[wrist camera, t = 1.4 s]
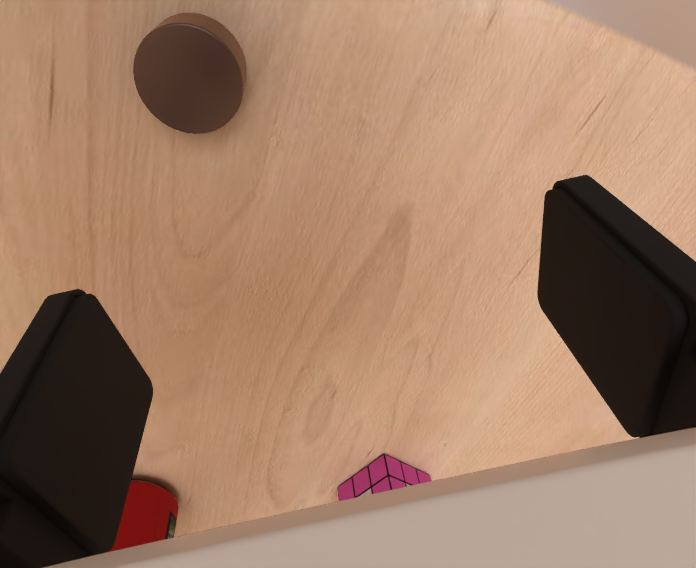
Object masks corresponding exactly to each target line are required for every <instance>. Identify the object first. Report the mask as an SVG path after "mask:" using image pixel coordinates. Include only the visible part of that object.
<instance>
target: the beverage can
mask: <svg viewBox="0 0 696 568" xmlns="http://www.w3.org/2000/svg"><path fill="white" fill-rule="evenodd" d="M177 513H178V503H177V500H176V499H175V497H174V496H173V495H172V494H171V493H169V492H168V491H166V490H165V489H163V488H162V487H160V486H158V485H157V484H154V483H151V482H148V481H142V480H131V483H130V487H129V490H128V494H127V498H126V502H125V506H124V510H123V514H122V518H121V522H120V526H119V530H118V533H117V537H116V541H115V544H114V546H113V548H112V549H111V550H110V551H109V552H111V551H116V550H120V549H125V548H129V547H134V546H138V545H143V544H147V543H152V542H156V541H161V540H165V539H170V538H174V533H175V527H176V520H177ZM106 553H107V552H106Z"/></svg>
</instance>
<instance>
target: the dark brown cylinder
mask: <svg viewBox="0 0 696 568" xmlns="http://www.w3.org/2000/svg"><path fill="white" fill-rule="evenodd" d="M133 72H134V80H135V84H136V88H137V90H138V93H139V95H140V97H141V99H142V101H143V102H144V104H145V105H146V107H147V108H148V109H149V110H150V112H151V113H152V114H153V115H154V116H155V117H156V118H158V119H159V120H160V121H161V122H163V123H164V124H166V125H168V126H169V127H172V128H174V129H176V130H179V131H182V132H187V133H194V134H199V133H208V132H211V131H215V130H217V129H219V128H221V127H222V126H224V125H225V124H227V123H228V122H229V121H230V120H231V119H232V118H233V116H234V115H235V114H236V112H237V110H238V108H239V106H240V104H241V100H242V96H243V91H244V86H245V80H246V64H245V59H244V55H243V53H242V50H241V48H240V46H239V44H238V42H237V41H236V39H235V38H234V36H233V35H232V34H231V33H230V31H228V30H227V29H226V28H225V27H224V26H223V25H222V24H220V23H219V22H217V21H216V20H214V19H212V18H210V17H207V16H205V15H201V14H196V13H182V14H177V15H174V16H171V17H169V18H168V19H166V20H164V21H163V22H162V23H161V24H159V25H158V26H157V27H156V28H155V29H154V30H152V31H151V32H150V33H149V34H148V35H147V36H146V37H145V38H144V39H143V41H142V42H141V44H140V45H139V47H138V49H137V52H136V55H135V59H134V70H133Z"/></svg>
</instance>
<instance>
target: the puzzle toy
mask: <svg viewBox="0 0 696 568" xmlns="http://www.w3.org/2000/svg"><path fill="white" fill-rule="evenodd" d="M426 482H431V478H430V475H428V474H426V473H423V472H421V471H419V470H417V469H415V468H413V467H410V466H408V465H406V464H404V463H402V462H400V461H398V460H395V459H393V458H391V457H389V456H387V455H382V456H381V457H380V458H378V459H377V460H375V461H374V462H373V463H371V464H370V465H369V466H367V467H366V468H364V469H363V470H362V471H360V472H359V473H357V474H356V475H355V476H353V477H352V478H350V479H349V480H348V481H346V482H345V483H343V484H342V485H341V486H339V487H338V496H339V501H343V500H347V499H352V498H357V497H361V496H366V495H371V494H375V493H380V492H384V491H389V490H394V489H398V488H403V487H408V486H412V485H417V484H421V483H426Z"/></svg>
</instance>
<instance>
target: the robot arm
mask: <svg viewBox="0 0 696 568" xmlns="http://www.w3.org/2000/svg"><path fill="white" fill-rule="evenodd" d="M538 301H539V304H540V307H541V309H542V310H543V312H544V313H545V315H546V316H547V318H548V319H549V321H550V322H551V323H552V325H553V326H554V328H555V329H556V331H557V332H558V334H559V335H560V337H561V338H562V339H563V341H564V342H565V344H566V345H567V347H568V348H569V350H570V351H571V352H572V354H573V355H574V357H575V358H576V360H577V361H578V363H579V364H580V365H581V367H582V368H583V370H584V371H585V373H586V374H587V376H588V377H589V378H590V380H591V381H592V383H593V384H594V386H595V387H596V389H597V390H598V392H599V393H600V394H601V396H602V397H603V399H604V400H605V402H606V403H607V405H608V406H609V407H610V409H611V410H612V412H613V413H614V415H615V416H616V418H617V419H618V420H619V422H620V423H621V425H622V426H623V428H624V429H625V430H626V432H627V433H628V434H629V435H630V436H632V437H639V438H638V439H633V440H628V441H622V442H617V443H612V444H607V445H602V446H597V447H592V448H587V449H582V450H577V451H572V452H568V453H563V454H558V455H553V456H549V457H544V458H539V459H535V460H530V461H525V462H520V463H516V464H511V465H506V466H502V467H497V468H492V469H487V470H483V471H478V472H473V473H468V474H464V475H459V476H454V477H450V478H445V479H440V480H435V481H431V482H426V483H421V484H417V485H412V486H408V487H403V488H398V489H394V490H389V491H384V492H380V493H375V494H371V495H366V496H361V497H357V498H352V499H347V500H343V501H338V502H334V503H329V504H324V505H320V506H315V507H311V508H306V509H301V510H297V511H292V512H288V513H283V514H278V515H274V516H269V517H265V518H260V519H256V520H251V521H246V522H242V523H237V524H233V525H228V526H224V527H219V528H215V529H210V530H206V531H201V532H197V533H192V534H188V535H183V536H179V537H174V538H170V539H165V540H161V541H156V542H152V543H147V544H143V545H138V546H134V547H129V548H125V549H120V550H116V551H111V552H109V551H110V550H111V549H112V548H113V546H114V544H115V541H116V537H117V533H118V530H119V526H120V522H121V518H122V514H123V510H124V506H125V502H126V498H127V494H128V490H129V487H130V483H131V479H132V475H133V471H134V467H135V463H136V459H137V455H138V451H139V447H140V443H141V440H142V436H143V432H144V428H145V424H146V420H147V416H148V412H149V408H150V404H151V400H152V396H153V387H152V383H151V380H150V378H149V377H148V375H147V374H146V372H145V371H144V369H143V368H142V366H141V365H140V363H139V362H138V360H137V359H136V357H135V356H134V354H133V353H132V351H131V349H130V348H129V346H128V345H127V343H126V342H125V340H124V339H123V337H122V336H121V334H120V333H119V331H118V330H117V328H116V327H115V325H114V324H113V322H112V321H111V319H110V318H109V316H108V315H107V313H106V312H105V310H104V308H103V307H102V305H101V304H100V302H99V301H98V299H97V298H96V297H95V296H94V295H92V294H86V293H85V292H84V291H82V290H80V289H76V290H71V291H67V292H62V293H58V294H53V295H50V296H48V297H47V298H46V299H45V301H44V302H43V304H42V306H41V307H40V309H39V311H38V312H37V314H36V315H35V317H34V319H33V320H32V322H31V324H30V325H29V327H28V329H27V330H26V332H25V334H24V335H23V337H22V339H21V340H20V342H19V344H18V345H17V347H16V349H15V350H14V352H13V353H12V355H11V357H10V358H9V360H8V362H7V363H6V365H5V367H4V368H3V370H2V372H1V373H0V568H696V262H695V261H694V260H693V259H692V258H690V257H689V256H688V255H687V254H685V253H684V252H683V251H682V250H680V249H679V248H678V247H677V246H675V245H674V244H673V243H672V242H671V241H669V240H668V239H667V238H666V237H664V236H663V235H662V234H661V233H659V232H658V231H657V230H656V229H654V228H653V227H652V226H651V225H649V224H648V223H647V222H646V221H644V220H643V219H642V218H641V217H640V216H638V215H637V214H636V213H635V212H633V211H632V210H631V209H630V208H628V207H627V206H626V205H625V204H623V203H622V202H621V201H620V200H618V199H617V198H616V197H615V196H613V195H612V194H611V193H610V192H609V191H607V190H606V189H605V188H604V187H602V186H601V185H600V184H599V183H597V182H596V181H595V180H594V179H592V178H591V177H590V176H588V175H583V176H578V177H574V178H569V179H565V180H560V181H557V182H556V183H555V184H554V186H553V189H552V190H549V191H547V192H546V194H545V200H544V213H543V226H542V239H541V253H540V266H539V279H538ZM106 552H107V553H106Z"/></svg>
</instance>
